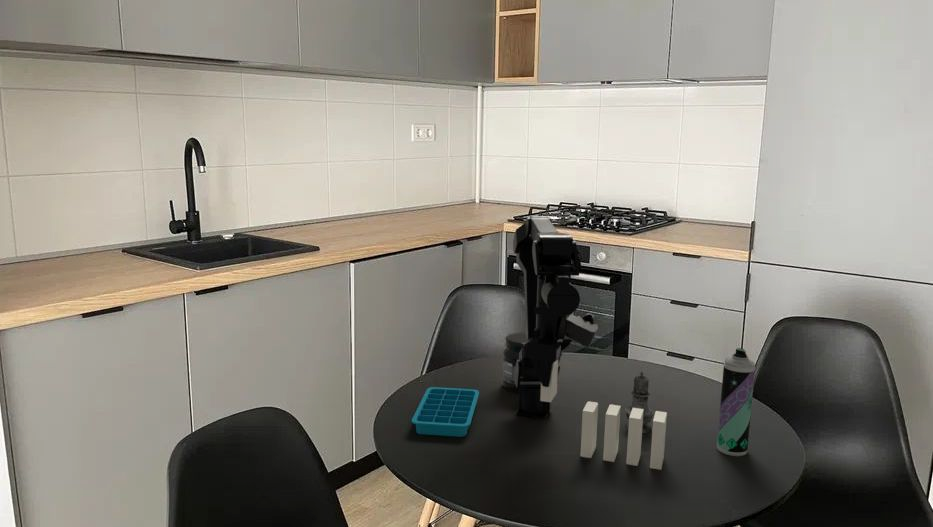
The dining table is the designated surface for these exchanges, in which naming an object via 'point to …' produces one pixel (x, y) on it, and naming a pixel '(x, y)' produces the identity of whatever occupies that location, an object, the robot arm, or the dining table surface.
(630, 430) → the domino
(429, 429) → the ice cube tray
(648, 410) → the chess piece
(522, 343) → the supplement container
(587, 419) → the domino
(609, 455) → the domino
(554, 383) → the domino
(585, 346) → the robot arm
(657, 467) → the domino
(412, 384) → the dining table surface
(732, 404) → the spray can
